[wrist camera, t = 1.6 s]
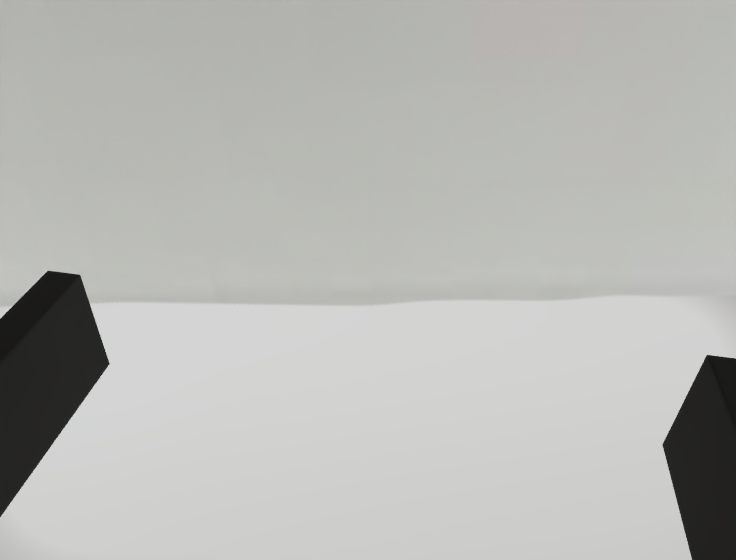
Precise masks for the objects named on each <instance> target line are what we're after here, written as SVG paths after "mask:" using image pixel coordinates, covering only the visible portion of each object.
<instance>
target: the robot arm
mask: <svg viewBox="0 0 736 560" xmlns="http://www.w3.org/2000/svg"><path fill="white" fill-rule="evenodd" d="M108 365H109V361H108V358H107V355H106V352H105V349H104V346H103V343H102V340H101V337H100V334H99V331H98V328H97V325H96V322H95V319H94V316H93V313H92V310H91V307H90V304H89V301H88V298H87V295H86V292H85V288H84V285H83V282H82V279H81V276H80V275H77V274H69V273H61V272H53V271H47V272H46V273H45V274H44V275H43V276H42V277H41V278H40V279H39V280H38V281H37V282H36V283H35V284H34V285H33V286H32V287H31V288H30V289H29V291H28V292H27V293H26V294H25V295H24V296H23V297H22V298H21V299H20V300H19V301H18V302H17V303H16V304H15V305H14V306H13V307H12V308H11V309H10V310H9V311H8V312H7V313H6V314H5V315H4V316H3V317H2V318H1V319H0V517H1V515H2V514H3V512H4V511H5V510H6V508H7V507H8V506H9V504H10V503H11V501H12V500H13V498H14V497H15V496H16V494H17V493H18V491H19V490H20V489H21V487H22V486H23V484H24V483H25V482H26V480H27V479H28V477H29V476H30V475H31V473H32V472H33V470H34V469H35V468H36V466H37V465H38V463H39V462H40V460H41V459H42V458H43V456H44V455H45V454H46V452H47V451H48V449H49V448H50V447H51V445H52V444H53V442H54V440H55V439H56V438H57V437H58V435H59V434H60V433H61V431H62V430H63V428H64V427H65V425H66V424H67V423H68V421H69V420H70V418H71V417H72V416H73V414H74V413H75V412H76V410H77V409H78V407H79V405H80V404H81V403H82V402H83V400H84V399H85V397H86V396H87V395H88V393H89V392H90V390H91V389H92V388H93V386H94V384H95V383H96V382H97V381H98V379H99V378H100V376H101V375H102V374H103V372H104V371H105V369H106V368H107V367H108ZM663 448H664V452H665V456H666V460H667V464H668V467H669V471H670V475H671V479H672V483H673V487H674V490H675V494H676V498H677V502H678V506H679V510H680V514H681V518H682V522H683V526H684V530H685V533H686V537H687V541H688V545H689V549H690V553H691V557H692V560H736V359H734V358H726V357H718V356H710V355H707V356H706V358H705V360H704V362H703V364H702V366H701V368H700V370H699V372H698V374H697V376H696V378H695V380H694V382H693V384H692V386H691V388H690V391H689V392H688V394H687V396H686V399H685V400H684V403H683V405H682V407H681V409H680V411H679V413H678V415H677V417H676V419H675V421H674V423H673V425H672V427H671V429H670V431H669V433H668V435H667V437H666V439H665V441H664V443H663Z"/></svg>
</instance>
